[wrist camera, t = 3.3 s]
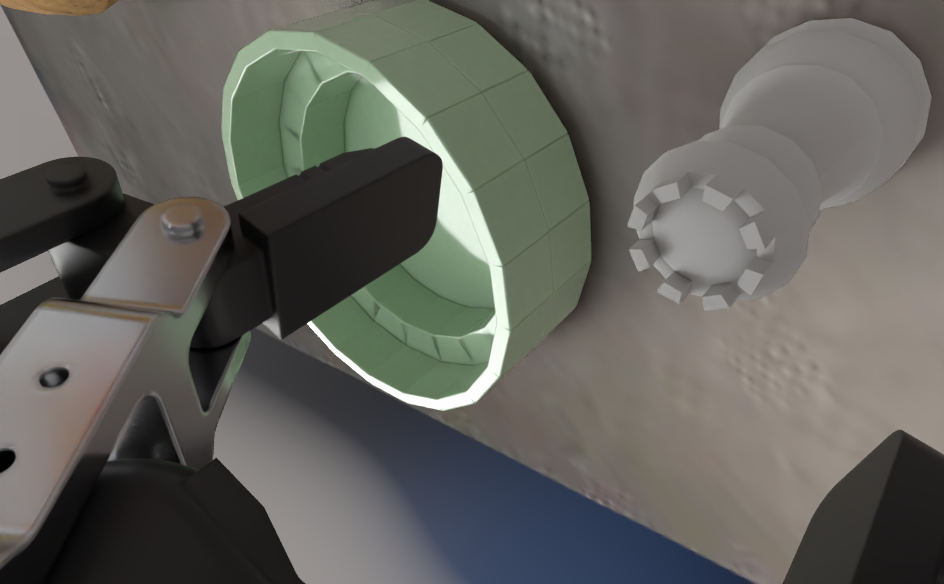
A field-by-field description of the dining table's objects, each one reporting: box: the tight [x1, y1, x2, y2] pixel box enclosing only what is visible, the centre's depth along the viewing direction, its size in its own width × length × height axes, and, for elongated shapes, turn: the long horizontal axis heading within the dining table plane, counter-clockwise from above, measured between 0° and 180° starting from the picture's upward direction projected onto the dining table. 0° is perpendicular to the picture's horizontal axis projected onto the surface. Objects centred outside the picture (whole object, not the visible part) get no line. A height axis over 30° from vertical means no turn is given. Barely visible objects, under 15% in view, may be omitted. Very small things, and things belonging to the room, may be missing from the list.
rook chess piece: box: [627, 18, 932, 311], centre depth 13 cm, size 4×4×8 cm
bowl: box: [221, 0, 591, 411], centre depth 25 cm, size 15×15×6 cm
